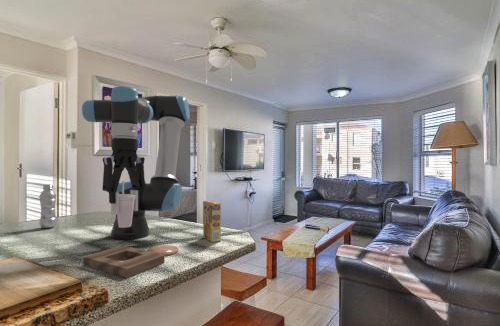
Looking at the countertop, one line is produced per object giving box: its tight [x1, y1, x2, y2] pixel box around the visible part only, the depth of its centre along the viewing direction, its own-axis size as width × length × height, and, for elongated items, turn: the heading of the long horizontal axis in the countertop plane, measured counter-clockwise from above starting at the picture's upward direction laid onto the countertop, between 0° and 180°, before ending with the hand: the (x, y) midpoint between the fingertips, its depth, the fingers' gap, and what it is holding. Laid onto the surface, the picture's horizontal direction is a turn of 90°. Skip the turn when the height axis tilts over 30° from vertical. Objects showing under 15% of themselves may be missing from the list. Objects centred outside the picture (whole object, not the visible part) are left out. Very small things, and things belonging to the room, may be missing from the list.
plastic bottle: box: [38, 184, 58, 229], centre depth 140 cm, size 6×7×20 cm
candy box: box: [202, 200, 222, 243], centre depth 123 cm, size 9×4×15 cm, turn 33°
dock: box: [82, 244, 165, 279], centre depth 94 cm, size 20×14×2 cm
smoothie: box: [117, 181, 136, 228], centre depth 94 cm, size 6×6×14 cm
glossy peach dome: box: [145, 244, 180, 257], centre depth 107 cm, size 11×11×1 cm
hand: (124, 212), depth 94 cm, fingers closed on smoothie, 6 cm apart
